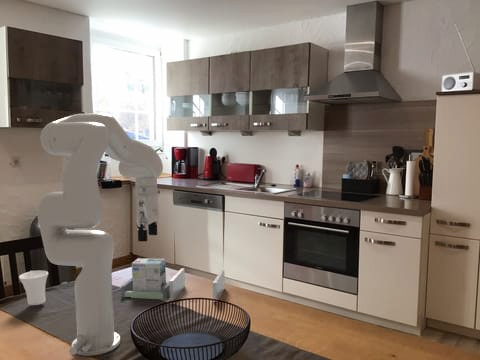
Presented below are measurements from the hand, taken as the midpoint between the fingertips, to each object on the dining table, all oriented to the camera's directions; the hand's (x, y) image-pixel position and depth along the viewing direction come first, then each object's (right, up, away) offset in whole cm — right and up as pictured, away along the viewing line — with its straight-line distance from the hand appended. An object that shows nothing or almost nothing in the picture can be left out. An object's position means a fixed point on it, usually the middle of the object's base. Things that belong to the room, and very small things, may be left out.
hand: (148, 238), depth 154 cm
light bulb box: (0, -19, +2) cm, 19 cm away
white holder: (+18, -20, -1) cm, 27 cm away
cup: (-36, -21, -9) cm, 42 cm away
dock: (0, -20, +2) cm, 20 cm away
